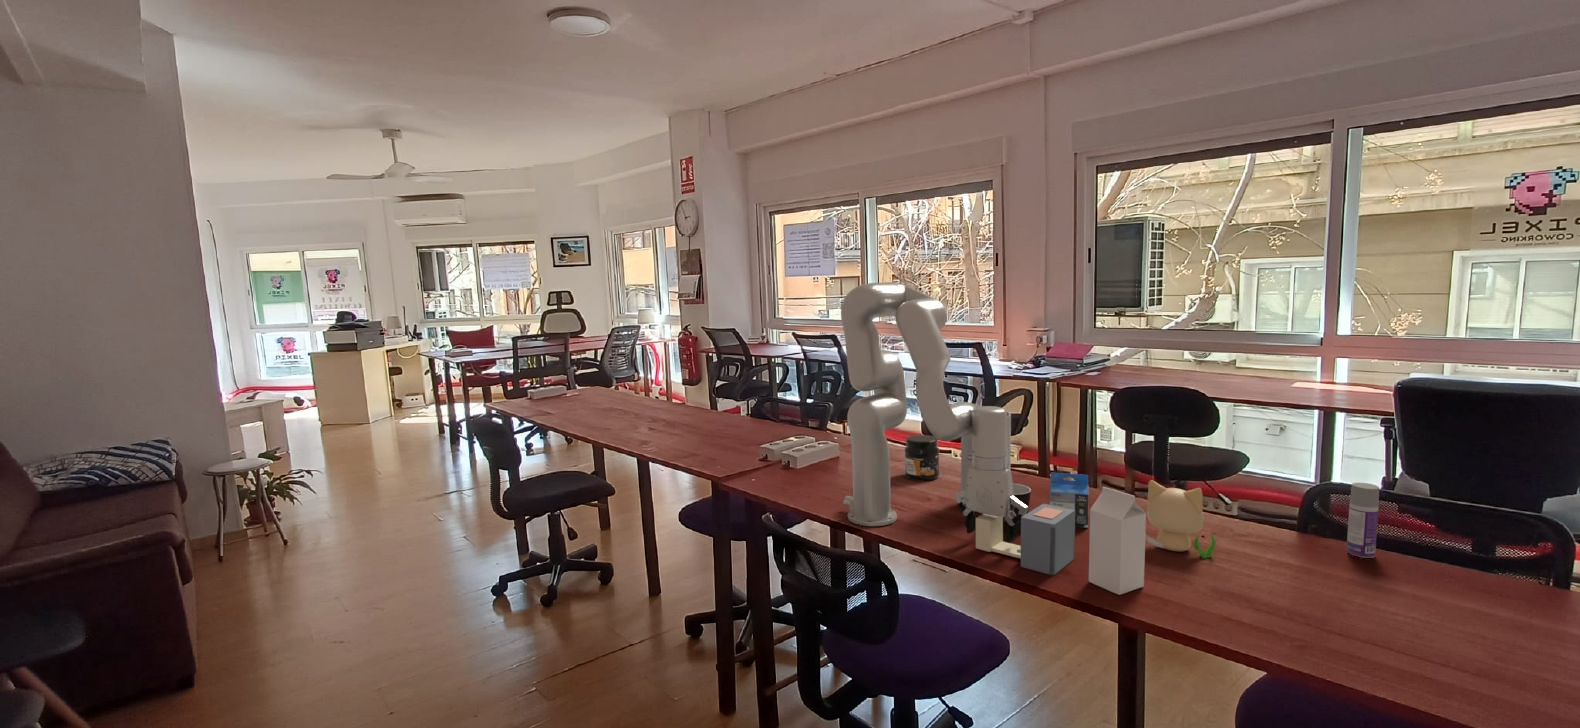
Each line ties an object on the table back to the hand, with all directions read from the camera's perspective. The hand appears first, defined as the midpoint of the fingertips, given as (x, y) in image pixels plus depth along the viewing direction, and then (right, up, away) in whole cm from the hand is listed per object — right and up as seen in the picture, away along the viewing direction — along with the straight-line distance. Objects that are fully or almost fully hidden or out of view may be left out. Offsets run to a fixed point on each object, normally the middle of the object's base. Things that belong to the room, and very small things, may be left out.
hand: (990, 536), depth 157 cm
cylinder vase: (+7, +1, +28) cm, 29 cm away
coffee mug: (+9, -1, +13) cm, 15 cm away
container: (+75, -2, -10) cm, 76 cm away
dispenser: (+10, -4, -9) cm, 13 cm away
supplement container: (-5, +4, +57) cm, 57 cm away
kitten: (+40, -2, -4) cm, 40 cm away
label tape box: (+23, -1, +13) cm, 26 cm away
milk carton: (+19, -5, -20) cm, 28 cm away
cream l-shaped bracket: (+5, -3, -4) cm, 7 cm away
